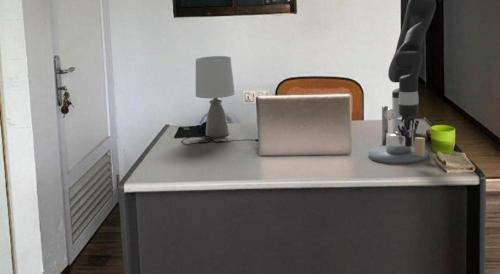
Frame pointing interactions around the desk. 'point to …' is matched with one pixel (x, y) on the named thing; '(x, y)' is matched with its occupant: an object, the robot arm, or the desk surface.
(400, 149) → the cover
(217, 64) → the lamp
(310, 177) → the desk surface
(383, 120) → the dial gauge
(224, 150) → the desk surface
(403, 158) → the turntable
